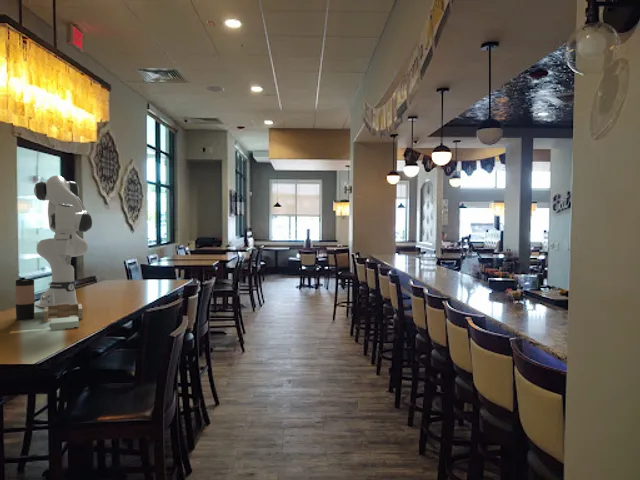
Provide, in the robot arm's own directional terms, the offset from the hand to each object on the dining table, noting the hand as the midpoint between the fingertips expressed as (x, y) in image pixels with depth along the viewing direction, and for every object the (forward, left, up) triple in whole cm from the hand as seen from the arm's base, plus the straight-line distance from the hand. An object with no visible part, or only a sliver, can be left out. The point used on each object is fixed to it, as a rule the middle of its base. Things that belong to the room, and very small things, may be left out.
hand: (66, 264), depth 214 cm
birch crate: (-4, +2, -28) cm, 28 cm away
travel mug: (-18, -7, -28) cm, 34 cm away
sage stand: (+9, -9, -27) cm, 30 cm away
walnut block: (-3, +1, -27) cm, 27 cm away
